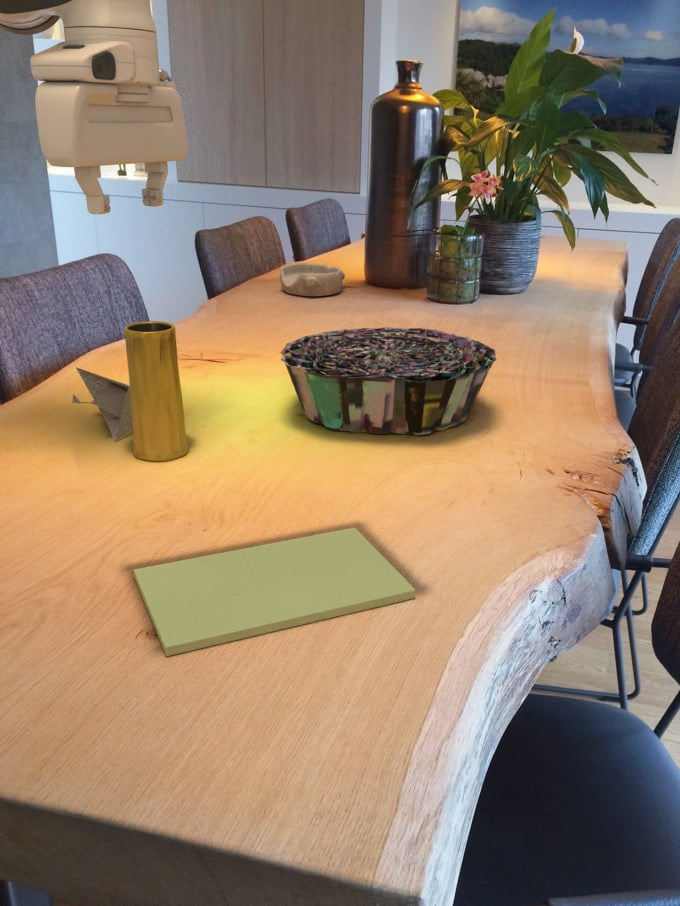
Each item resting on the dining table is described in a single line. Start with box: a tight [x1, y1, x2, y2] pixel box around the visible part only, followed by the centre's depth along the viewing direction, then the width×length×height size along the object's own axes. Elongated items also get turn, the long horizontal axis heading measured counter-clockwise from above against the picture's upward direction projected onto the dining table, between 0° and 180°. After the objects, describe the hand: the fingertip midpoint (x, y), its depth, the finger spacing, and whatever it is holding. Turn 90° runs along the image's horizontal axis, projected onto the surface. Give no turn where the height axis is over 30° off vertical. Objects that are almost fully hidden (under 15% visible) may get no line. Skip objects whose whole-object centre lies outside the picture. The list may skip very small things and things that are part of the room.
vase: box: [124, 320, 190, 462], centre depth 91 cm, size 6×6×14 cm
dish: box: [279, 262, 346, 297], centre depth 178 cm, size 14×14×5 cm
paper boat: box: [71, 366, 133, 443], centre depth 99 cm, size 12×6×9 cm
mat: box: [133, 527, 417, 657], centre depth 67 cm, size 20×12×1 cm, turn 115°
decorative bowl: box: [279, 326, 497, 437], centre depth 106 cm, size 26×28×10 cm
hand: (127, 209), depth 89 cm, fingers open, 8 cm apart
